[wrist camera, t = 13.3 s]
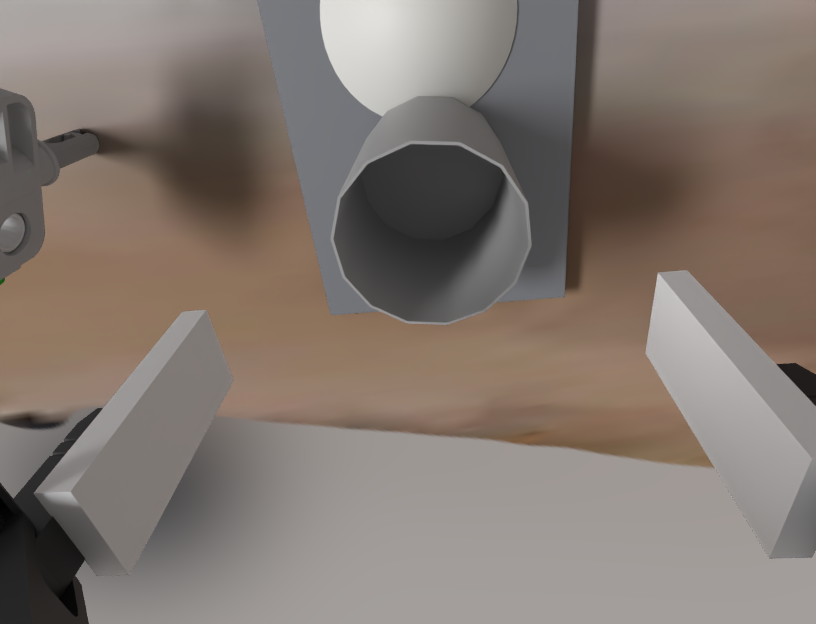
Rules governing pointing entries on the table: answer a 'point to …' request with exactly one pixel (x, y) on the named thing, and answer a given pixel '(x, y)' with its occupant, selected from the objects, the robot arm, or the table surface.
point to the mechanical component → (29, 177)
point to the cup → (431, 215)
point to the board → (431, 77)
